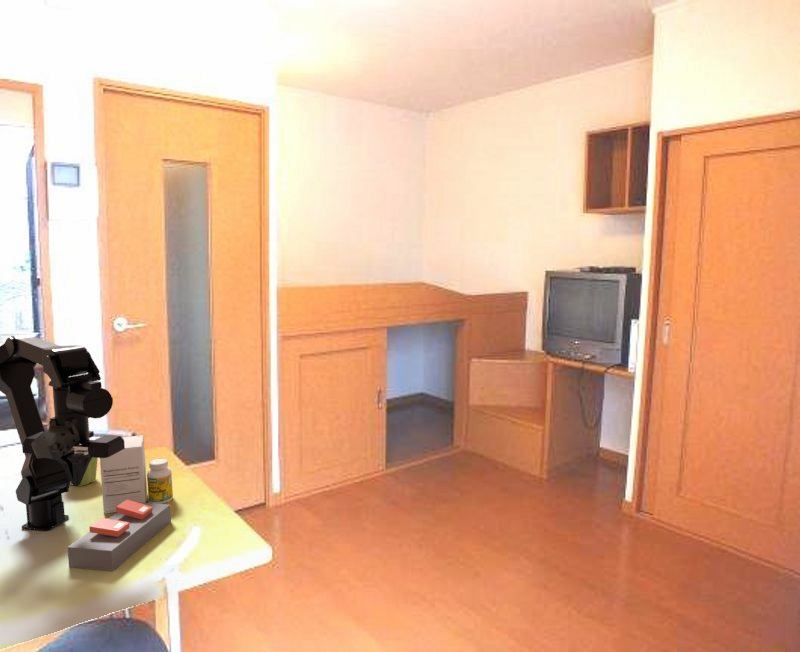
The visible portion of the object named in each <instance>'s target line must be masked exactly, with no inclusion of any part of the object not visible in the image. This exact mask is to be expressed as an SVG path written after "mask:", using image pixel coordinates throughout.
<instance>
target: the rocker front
mask: <svg viewBox="0 0 800 652" xmlns="http://www.w3.org/2000/svg"><path fill="white" fill-rule="evenodd" d="M128 529H129V522H124V521H118V520H111V519H108V518H105V517H101V518H99V519H98V520H96V521H95V522H94V523H92V524H91V525H89V532H91V533H97V534H103V535H110V536H116V537H118V536H120V535H121V534H122V533H124V532H125V531H126V530H128Z"/></svg>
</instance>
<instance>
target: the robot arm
mask: <svg viewBox="0 0 800 652" xmlns="http://www.w3.org/2000/svg"><path fill="white" fill-rule="evenodd" d="M37 365H41V366H42V372H43V373H44V374H46V375H47V377H49V379H50V381H49V382H48V386H49V387H52V397H53V412H54V416H53V417H51V418H49V422H48V423H49V425H48V429H45V427H44V422H43V421H42V420H43V419H42V417H41V415H40V411H39V409H38V405H37V403H36V402H37V401H36V399H35V395H34V393H33V389H32V384H33V380H34V378H35V375H36V371H35V367H36V366H37ZM100 372H101V371H100V370H99V368H98V366H97V364H96V363H95V361H94V359H93V357H92V355H91V353H90V352H89V351H88V349H87V348H86V347H85V346H83V345H58V344H55V343H53V342H50V341H47V340H44V339H41V338H40V337H37V336H36V335H35V334H31V333H30V334H29V333H28V334H19V335H12V336H10V337H7V338H6V340H5V342H4V343H3V344H1V345H0V392H1V393H2V394H4V395H5V396H6V399H7V403H8V406H9V410H10V413H11V415H12V418H13V422H14V424H15V425H14V426H15V429H16V430H17V431H16V432H17V434H18V437H19V441H20V444H21V447H22V453H23V454H24V456H25V459H24V461H23V464H22V468H21V471H20V474H21V478H22V479H21V480H20V481H19V484H18V486H17V487H16V489H15V495H16V498H17V501H18V502H21V503H22V504H24V505H25V508H26V509H25V510H26V511H25V512H26V523H23V524H22V525H21V529H22V530H23V529H24V530H35V531H49V530H51V529H53V528H55V527H56V526H58V525H59V524H61V523H62V522H64V521H66V520H67V519H69V514H65V503H64V501H63V494H65V493H66V494H67V493H68V492H70V486H73V487H79V486H78V485H80V484H81V481H82V479H83V476H84V474H85V472H86V469H87V467H88V465H89V463H90V461H91V459H92V457H94V458H98V459H100V458H107V457H110V456H112V455H114V454H116V453H117V452H119V451H121V450H123V449H125V445H124V439H123V438H122V436H121V435H113V434H110V435H109V434H104V435H103V436H100V437H98V438H96V439H91V438H92V437H95V433H94V430H90V423H89V419H90V418H91V419H101V418H102V417H105V416H106V415H108V413H110V411H111V409H112V407H113V403H114V399H113V396H112V394H111V393H110V391H108V390H107V389H106V388H102V382H101V379H102V378H101V376H100ZM80 444H81V445H80ZM70 481H71V483H72V485H70Z"/></svg>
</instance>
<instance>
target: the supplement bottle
mask: <svg viewBox="0 0 800 652" xmlns="http://www.w3.org/2000/svg"><path fill="white" fill-rule="evenodd" d="M168 461H169V460H168V459H166V458H157V459H152V460H151V461H149V465H148V466H149V471H148V472H146V481H147V497H148V503H156V504H167V503H169V502H171V501H172V500H173V497H174V495H173V494H174V493H173V492H174V491H173V478H172V477H173V476H172V475H173V474H172V470H171V468H170V467H168V466H169V462H168Z"/></svg>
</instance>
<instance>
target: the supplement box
mask: <svg viewBox="0 0 800 652" xmlns="http://www.w3.org/2000/svg"><path fill="white" fill-rule="evenodd" d="M121 437H122V436H121ZM122 438H123V439H124V445H125V449H123V450H121V451H119V452H117V453H116V454H114V455H112V456H110V457H107V458H99V463H100V465H99V466H100V478H101V493H102V495H101V496H102V507H103V509H102V510H103V514H104V515H106V514H112V513H117V512H116V507H117V506H118V505H120V504H121V503H122V502H124V501H125V500H127V499H128V500H131V501H134V502H143V503H147V497H148V483H147V467H146V454H145V438H144V435H143V434H142V435H134V436H133V435H132V436H123V437H122Z"/></svg>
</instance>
